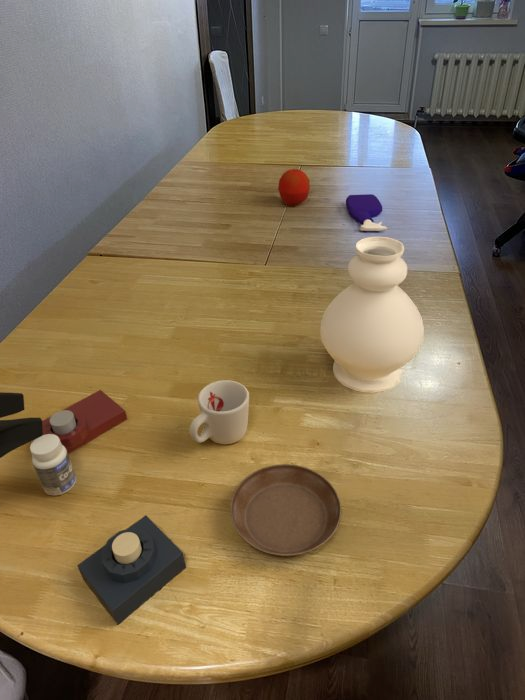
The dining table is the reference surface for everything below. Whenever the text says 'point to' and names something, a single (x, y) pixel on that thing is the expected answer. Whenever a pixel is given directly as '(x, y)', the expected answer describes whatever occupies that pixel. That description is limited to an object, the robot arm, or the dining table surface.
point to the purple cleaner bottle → (365, 211)
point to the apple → (294, 187)
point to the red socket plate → (89, 420)
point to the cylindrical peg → (126, 548)
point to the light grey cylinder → (63, 422)
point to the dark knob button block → (132, 570)
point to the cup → (222, 412)
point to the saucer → (285, 509)
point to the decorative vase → (373, 320)
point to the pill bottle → (52, 465)
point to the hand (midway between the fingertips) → (32, 413)
